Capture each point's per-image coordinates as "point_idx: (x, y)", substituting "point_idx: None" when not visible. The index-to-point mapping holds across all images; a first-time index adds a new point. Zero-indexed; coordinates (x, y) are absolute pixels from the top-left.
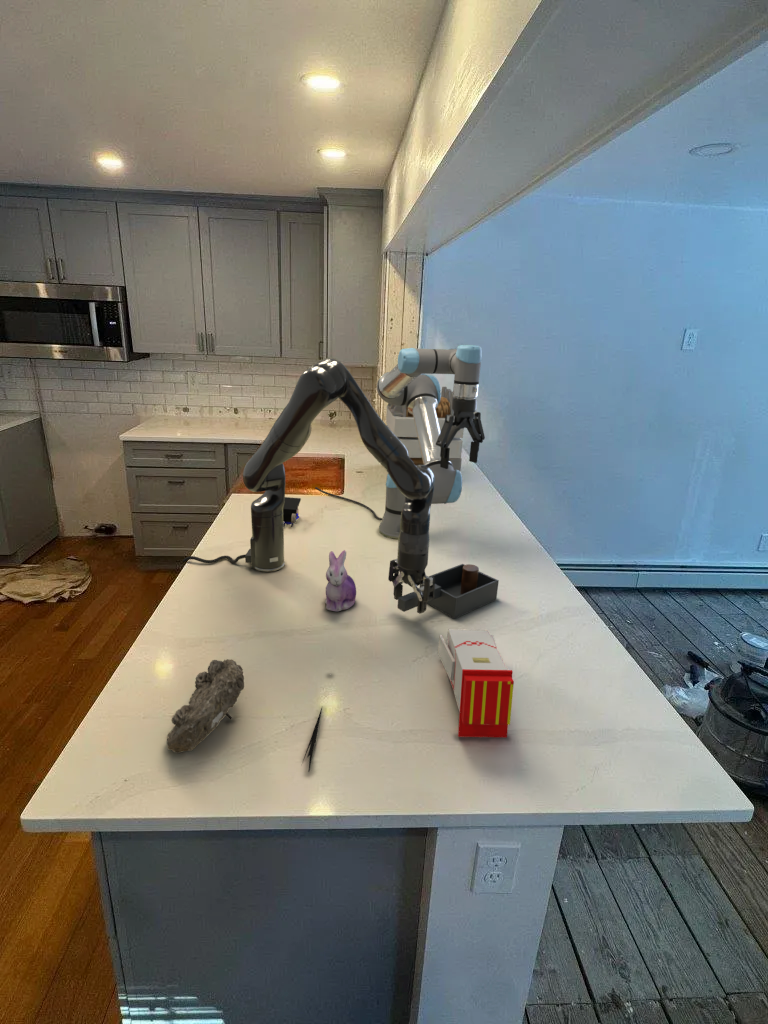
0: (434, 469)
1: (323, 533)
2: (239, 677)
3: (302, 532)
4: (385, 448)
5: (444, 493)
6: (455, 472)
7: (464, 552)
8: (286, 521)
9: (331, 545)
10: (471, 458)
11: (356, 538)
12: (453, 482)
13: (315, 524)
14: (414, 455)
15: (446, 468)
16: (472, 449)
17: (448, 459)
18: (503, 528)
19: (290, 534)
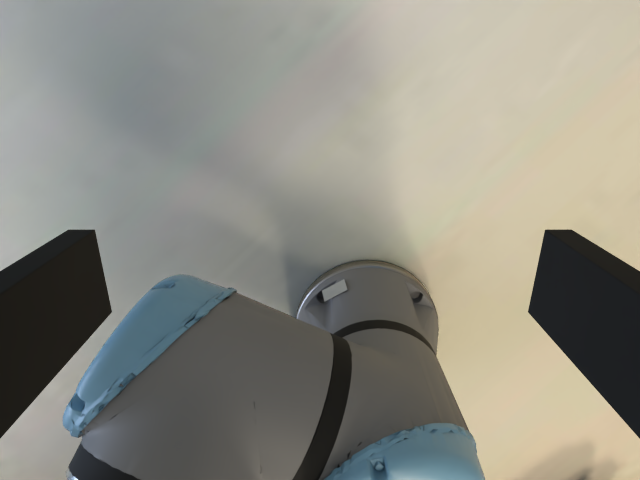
0: (237, 468)
1: (545, 424)
2: None
3: (580, 453)
4: None
5: (255, 310)
6: (120, 395)
7: (312, 78)
8: None
9: None
10: (87, 304)
11: (504, 356)
12: (188, 332)
13: (513, 475)
14: None
15: (573, 232)
16: (13, 375)
17: (619, 276)
18: (9, 150)
19: (613, 458)
